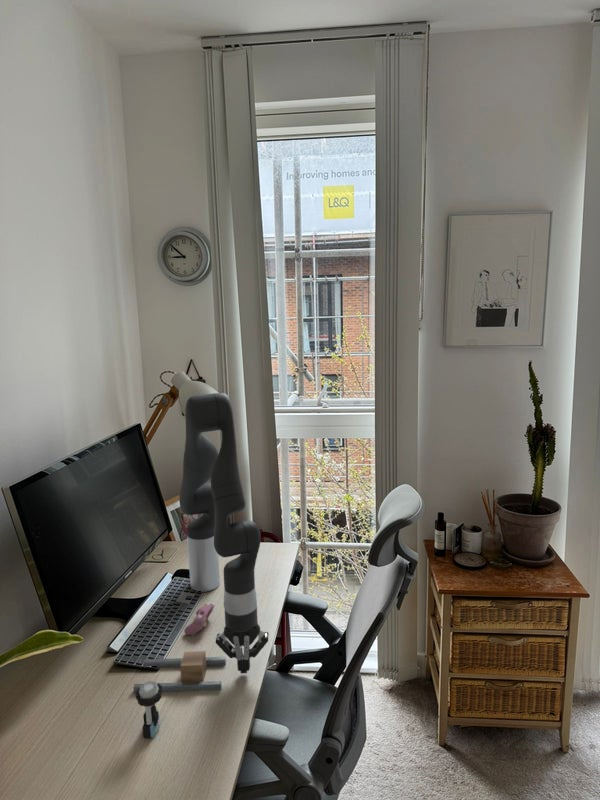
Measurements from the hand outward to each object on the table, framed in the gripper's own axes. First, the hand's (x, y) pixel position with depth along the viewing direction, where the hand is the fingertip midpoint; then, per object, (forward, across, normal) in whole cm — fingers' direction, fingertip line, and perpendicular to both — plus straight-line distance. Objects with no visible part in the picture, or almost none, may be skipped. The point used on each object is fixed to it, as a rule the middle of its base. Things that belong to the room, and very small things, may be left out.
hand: (243, 671), depth 127 cm
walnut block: (+1, +12, 0) cm, 12 cm away
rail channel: (+1, +15, 0) cm, 15 cm away
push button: (+1, +18, +15) cm, 23 cm away
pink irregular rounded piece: (+1, +14, -20) cm, 24 cm away
